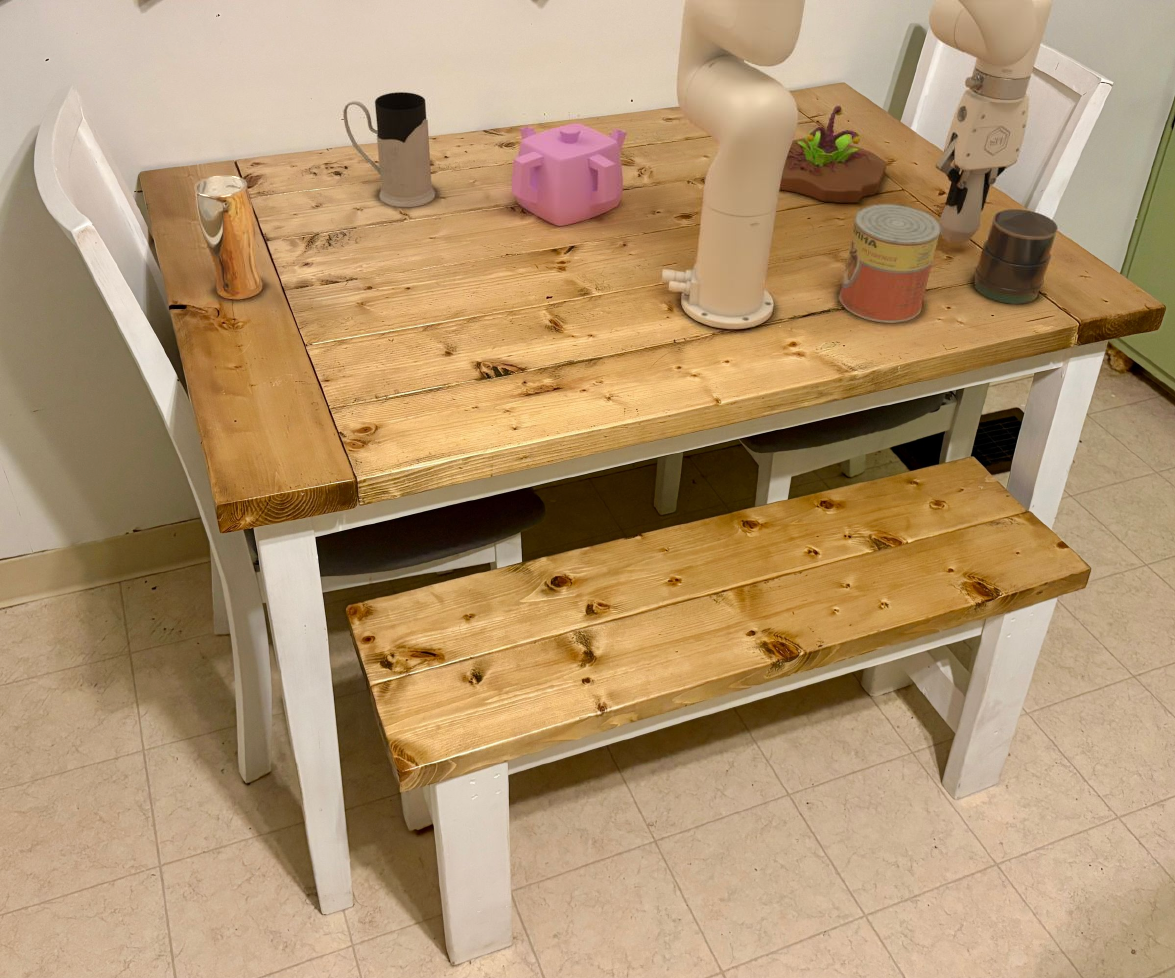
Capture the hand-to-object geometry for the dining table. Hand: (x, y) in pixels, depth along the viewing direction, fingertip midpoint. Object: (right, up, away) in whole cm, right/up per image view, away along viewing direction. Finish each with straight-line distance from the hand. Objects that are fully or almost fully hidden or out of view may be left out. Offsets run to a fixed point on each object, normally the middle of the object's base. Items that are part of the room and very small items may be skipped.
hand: (964, 207), depth 165 cm
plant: (-16, +11, +24) cm, 31 cm away
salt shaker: (0, -4, +3) cm, 5 cm away
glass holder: (-87, +6, +13) cm, 88 cm away
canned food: (-15, -16, -9) cm, 23 cm away
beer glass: (-103, -14, -11) cm, 105 cm away
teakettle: (-58, +4, +13) cm, 60 cm away
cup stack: (+4, -13, -4) cm, 14 cm away
